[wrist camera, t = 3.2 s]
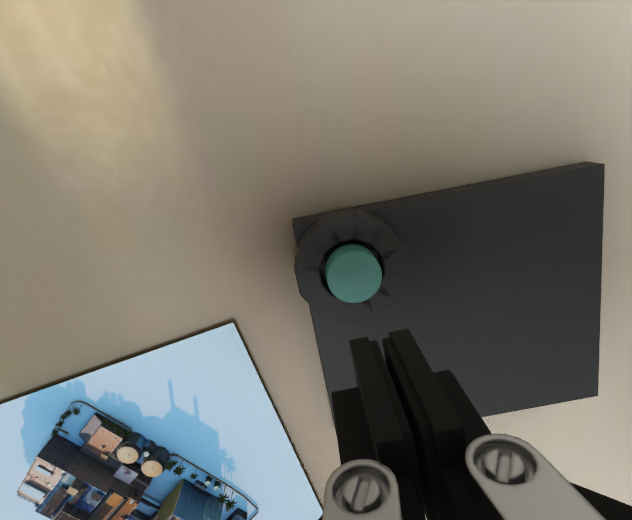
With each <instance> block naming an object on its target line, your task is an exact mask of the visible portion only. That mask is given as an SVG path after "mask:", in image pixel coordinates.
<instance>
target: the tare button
mask: <svg viewBox="0 0 632 520" xmlns="http://www.w3.org/2000/svg"><path fill="white" fill-rule="evenodd" d="M325 272H326V278H327V283H328V287H329V289H330V291H331V292H332V293H333V295H334V296H335V297H337V298H338V299H340V300H342V301H344V302H348V303H359V302H363V301H365V300H367V299H369V298H371V297H372V296H373V295H374V294H375V293H376V292H377V290H378V289H379V287H380V285H381V281H382V270H381V267H380V265H379V263H378V261H377V260H376V258H375V256H374V255H373V253H372V252H371V251H370V250H369V249H367V248H366V247H364V246H361V245H357V244H348V245H344V246H341V247H339V248H337V249H336V250H335V251H334V252H333V253H332V254H331V255H330V256H329V258H328V260H327V263H326V267H325Z"/></svg>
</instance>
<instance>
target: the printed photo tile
mask: <svg viewBox="0 0 632 520" xmlns="http://www.w3.org/2000/svg"><path fill="white" fill-rule="evenodd" d="M322 514H323V511H322V509H321V507H320V505H319V503H318V501H317V498H316V496H315V494H314V492H313V490H312V488H311V486H310V484H309V482H308V479H307V477H306V475H305V473H304V471H303V469H302V467H301V465H300V463H299V460H298V458H297V456H296V454H295V452H294V450H293V448H292V446H291V444H290V441H289V439H288V437H287V435H286V433H285V431H284V429H283V427H282V424H281V422H280V420H279V418H278V416H277V414H276V412H275V410H274V408H273V405H272V403H271V401H270V399H269V397H268V395H267V393H266V391H265V389H264V386H263V384H262V382H261V380H260V378H259V376H258V374H257V372H256V370H255V367H254V365H253V363H252V361H251V359H250V357H249V355H248V353H247V350H246V348H245V346H244V344H243V342H242V340H241V338H240V336H239V334H238V331H237V329H236V327H235V325H234V323H230V324H227V325H224V326H221V327H219V328H216V329H213V330H210V331H207V332H204V333H201V334H199V335H196V336H193V337H190V338H187V339H184V340H182V341H179V342H176V343H173V344H170V345H167V346H165V347H162V348H159V349H156V350H153V351H150V352H148V353H145V354H142V355H139V356H136V357H133V358H131V359H128V360H125V361H122V362H119V363H116V364H114V365H111V366H108V367H105V368H102V369H99V370H97V371H94V372H91V373H88V374H85V375H82V376H80V377H77V378H74V379H71V380H68V381H65V382H63V383H60V384H57V385H54V386H51V387H48V388H46V389H43V390H40V391H37V392H34V393H31V394H28V395H26V396H23V397H20V398H17V399H14V400H11V401H9V402H6V403H3V404H0V520H318V519H319V518H320V517H321V516H322Z"/></svg>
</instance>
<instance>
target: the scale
mask: <svg viewBox="0 0 632 520" xmlns="http://www.w3.org/2000/svg"><path fill="white" fill-rule="evenodd" d="M604 167H605V165H604V164H600V163H592V162H583V163H578V164H572V165H567V166H562V167H557V168H552V169H547V170H542V171H536V172H531V173H526V174H521V175H516V176H511V177H506V178H500V179H495V180H490V181H485V182H480V183H475V184H469V185H464V186H459V187H454V188H449V189H444V190H439V191H433V192H428V193H423V194H418V195H413V196H408V197H402V198H397V199H392V200H387V201H382V202H377V203H372V204H366V205H361V206H356V207H351V208H346V209H341V210H336V211H330V212H325V213H320V214H315V215H310V216H305V217H299V218H294V219H293V223H292V226H293V231H294V235H295V240H296V245H297V252H296V255H295V264H294V269H295V274H296V278H297V283H298V288H299V292H300V294H301V296H302V297H303V298H304V299H305V300H306V301H307V302H308V303H309V306H310V311H311V316H312V321H313V325H314V330H315V335H316V340H317V344H318V349H319V354H320V358H321V363H322V368H323V373H324V377H325V382H326V387H327V392H328V396H329V401H330V406H331V411H332V415H333V420H334V425H335V418H334V411H333V404H332V397H331V392H334V391H339V390H344V389H349V388H355V387H357V383H356V377H355V372H354V366H353V361H352V356H351V350H350V345H349V340H351V339H356V338H362V337H367V336H368V338H369V340H370V341H373V340H377V342H378V345H379V347H380V350H381V353H382V355H383V358H384V360H385V356H384V350H383V343H382V339H384V338H389V337H388V333H389V332H393V331H398V330H403V329H409V330H410V332H411V334H412V336H413V337H414V339H415V341H416V343H417V345H418V346H419V348H420V350H421V352H422V353H423V355H424V357H425V359H426V360H427V362H428V364H429V366H430V368H431V369H432V371H433V372H438V371H443V370H451V372H452V373H453V374H454V376H455V377H456V379H457V381H458V382H459V384H460V385H461V387H462V388H463V390H464V391H465V393H466V395H467V396H468V398H469V399H470V401H471V402H472V404H473V405H474V407H475V409H476V410H477V412H478V413H479V415H480V416H481V417H485V416H491V415H496V414H501V413H507V412H512V411H518V410H523V409H529V408H534V407H539V406H545V405H550V404H556V403H561V402H567V401H572V400H577V399H583V398H588V397H594V396H598V373H599V339H600V305H601V270H602V236H603V202H604ZM348 244H357V245H361V246H364V247H366V248H367V249H369V250H370V251H371V252H372V253H373V255H374V256H375V258H376V260H377V261H378V263H379V265H380V267H381V270H382V281H381V285H380V287H379V289H378V290H377V292H376V293H375V294H374V295H373V296H372V297H371V298H369V299H367V300H365V301H363V302H359V303H348V302H344V301H342V300H340V299H338V298H337V297H335V296H334V295H333V293H332V292H331V291H330V289H329V287H328V283H327V278H326V272H325V267H326V263H327V260H328V258H329V256H330V255H331V254H332V253H333V252H334V251H335V250H336V249H337V248H339V247H341V246H344V245H348ZM335 430H336V425H335ZM336 434H337V432H336Z"/></svg>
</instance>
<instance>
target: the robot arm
mask: <svg viewBox="0 0 632 520" xmlns="http://www.w3.org/2000/svg"><path fill="white" fill-rule="evenodd" d="M388 337H389V338H384V339H382V343H383V350H384V356H385V360H384V358H383V355H382V353H381V350H380V347H379V345H378V342H377V340H373V341H370V340H369V338H368V336H367V337H362V338H356V339H351V340H349V345H350V350H351V356H352V361H353V366H354V372H355V377H356V383H357V387H355V388H349V389H344V390H339V391H334V392H331V397H332V404H333V411H334V418H335V425H336V432H337V439H338V447H339V454H340V461H341V466H339V467H338V468H337V469H336V470H335V471H333V472H332V474H331V476H330V477H329V479H328V480H327V483H326V487H325V493H324V504H323V514H322V516H321V517H320V518H319V519H318V520H426V518H425V514H426V517H427V520H632V506H630V505H627V504H625V503H622V502H619V501H617V500H614V499H612V498H609V497H607V496H604V495H601V494H599V493H596V492H594V491H591V490H589V489H586V488H583V487H581V486H578V485H576V484H573V483H571V482H569V481H568V480H567V479H566V478H565V477H564V476H563V475H562V474H561V473H560V472H559V471H558V470H557V469H556V468H555V467H554V466H553V465H552V464H551V463H550V462H549V461H548V460H547V459H546V458H545V457H544V456H543V455H542V454H541V453H540V452H539V451H538V450H537V449H536V448H534V447H533V446H532V445H531V444H529V443H528V442H526V441H524V440H522V439H520V438H518V437H515V436H511V435H507V434H491V432H490V430H489V429H488V427H487V426H486V424H485V423H484V421H483V420H482V418H481V416H480V415H479V413H478V412H477V410H476V409H475V407H474V405H473V404H472V402H471V401H470V399H469V398H468V396H467V395H466V393H465V391H464V390H463V388H462V387H461V385H460V384H459V382H458V381H457V379H456V377H455V376H454V374H453V373H452V372H451V370H443V371H438V372H433V371H432V369H431V368H430V366H429V364H428V362H427V360H426V359H425V357H424V355H423V353H422V352H421V350H420V348H419V346H418V345H417V343H416V341H415V339H414V337H413V336H412V334H411V332H410V330H409V329H403V330H398V331H393V332H389V333H388Z"/></svg>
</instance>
